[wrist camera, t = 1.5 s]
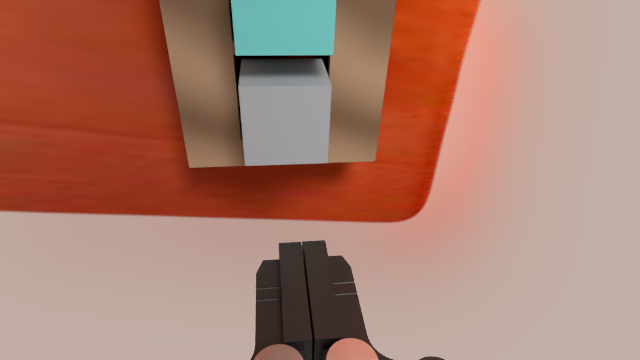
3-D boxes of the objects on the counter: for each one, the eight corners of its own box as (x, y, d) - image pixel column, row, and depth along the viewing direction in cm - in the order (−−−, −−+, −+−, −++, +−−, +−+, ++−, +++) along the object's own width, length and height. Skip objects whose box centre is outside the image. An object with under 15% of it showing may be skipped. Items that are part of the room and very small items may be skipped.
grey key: (241, 58, 23) (238, 86, 19) (321, 58, 23) (331, 85, 20) (247, 130, 25) (245, 166, 22) (319, 128, 26) (327, 163, 22)
